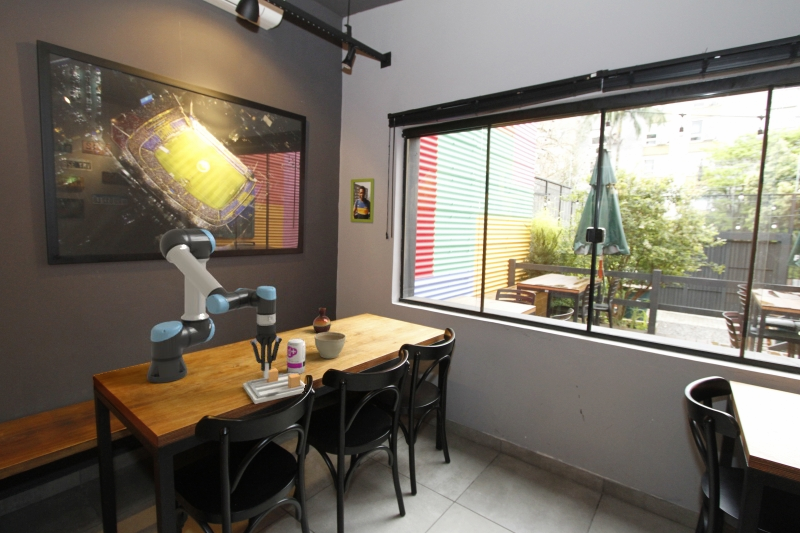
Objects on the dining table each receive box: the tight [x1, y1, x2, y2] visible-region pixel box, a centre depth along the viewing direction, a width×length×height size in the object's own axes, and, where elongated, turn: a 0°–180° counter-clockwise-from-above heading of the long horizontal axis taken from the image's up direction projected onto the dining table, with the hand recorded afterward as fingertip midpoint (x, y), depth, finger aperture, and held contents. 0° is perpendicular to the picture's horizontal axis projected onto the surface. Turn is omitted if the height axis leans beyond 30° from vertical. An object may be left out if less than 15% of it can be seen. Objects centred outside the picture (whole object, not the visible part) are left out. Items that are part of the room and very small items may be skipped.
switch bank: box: [242, 372, 306, 405], centre depth 162 cm, size 22×18×2 cm
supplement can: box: [286, 338, 306, 375], centre depth 180 cm, size 8×8×15 cm
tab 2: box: [288, 373, 301, 388], centre depth 161 cm, size 4×3×5 cm
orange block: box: [266, 367, 279, 383], centre depth 165 cm, size 4×3×5 cm
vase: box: [312, 307, 332, 334], centre depth 247 cm, size 11×11×15 cm
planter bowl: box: [314, 331, 346, 359], centre depth 204 cm, size 16×16×11 cm
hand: (266, 377), depth 164 cm, fingers closed
